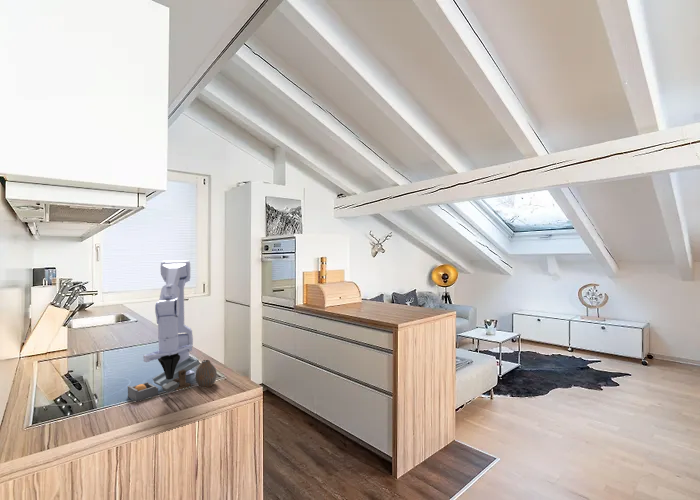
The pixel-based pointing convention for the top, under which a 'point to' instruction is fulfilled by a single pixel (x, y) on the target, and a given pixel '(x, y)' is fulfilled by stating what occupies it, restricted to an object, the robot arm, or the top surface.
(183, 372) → the stand
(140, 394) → the grey open box
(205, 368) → the vase
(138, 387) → the ball
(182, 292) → the robot arm
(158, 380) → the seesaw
